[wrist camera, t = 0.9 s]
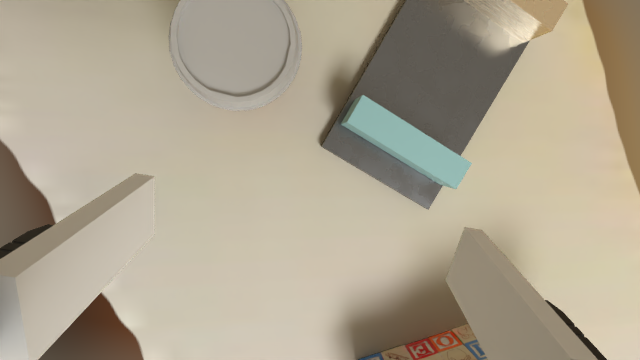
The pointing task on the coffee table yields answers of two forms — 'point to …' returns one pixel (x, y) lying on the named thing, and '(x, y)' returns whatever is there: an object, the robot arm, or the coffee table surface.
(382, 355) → the stack of blocks
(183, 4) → the disposable coffee cup
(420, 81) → the base
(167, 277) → the coffee table surface
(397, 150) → the bar
